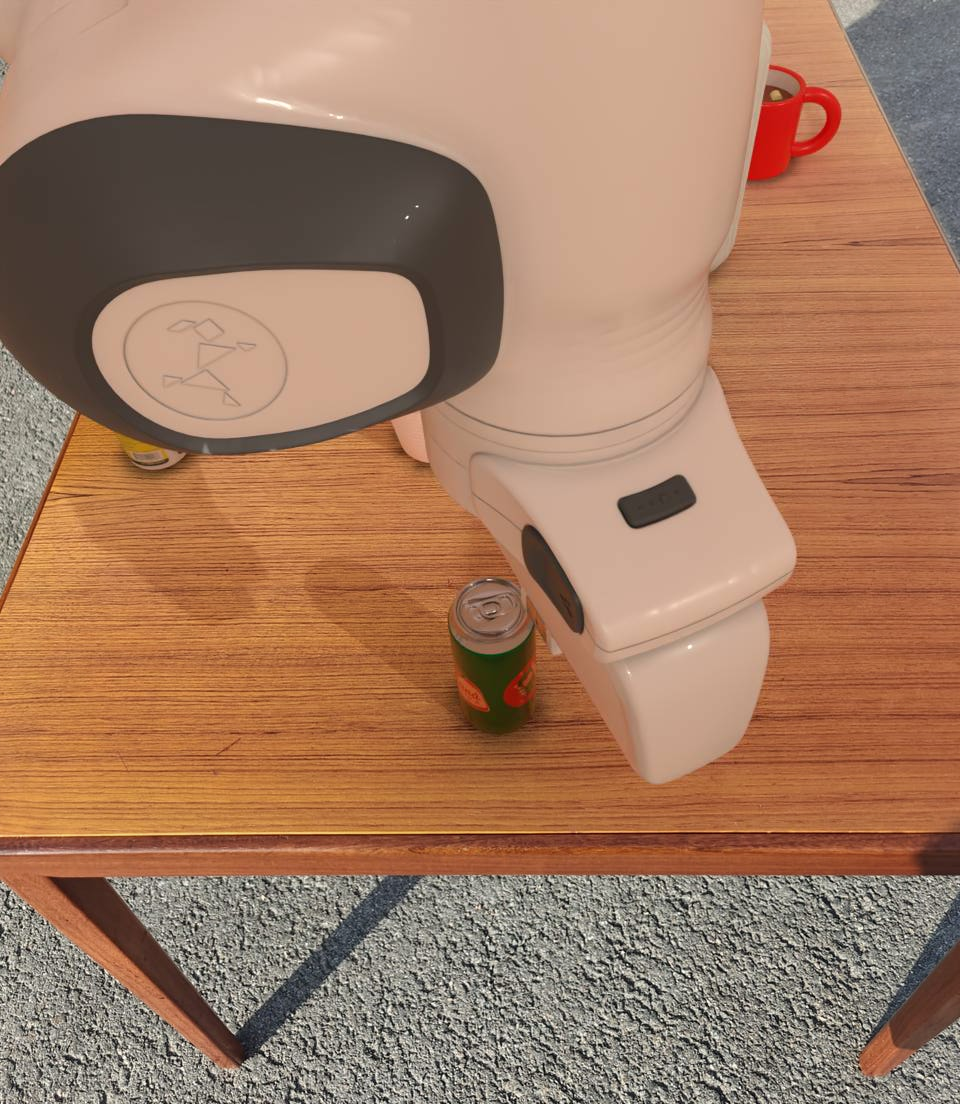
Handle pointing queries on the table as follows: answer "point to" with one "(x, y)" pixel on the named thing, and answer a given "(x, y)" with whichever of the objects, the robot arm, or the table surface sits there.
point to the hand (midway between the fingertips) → (554, 624)
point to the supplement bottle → (148, 454)
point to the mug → (788, 122)
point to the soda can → (493, 655)
